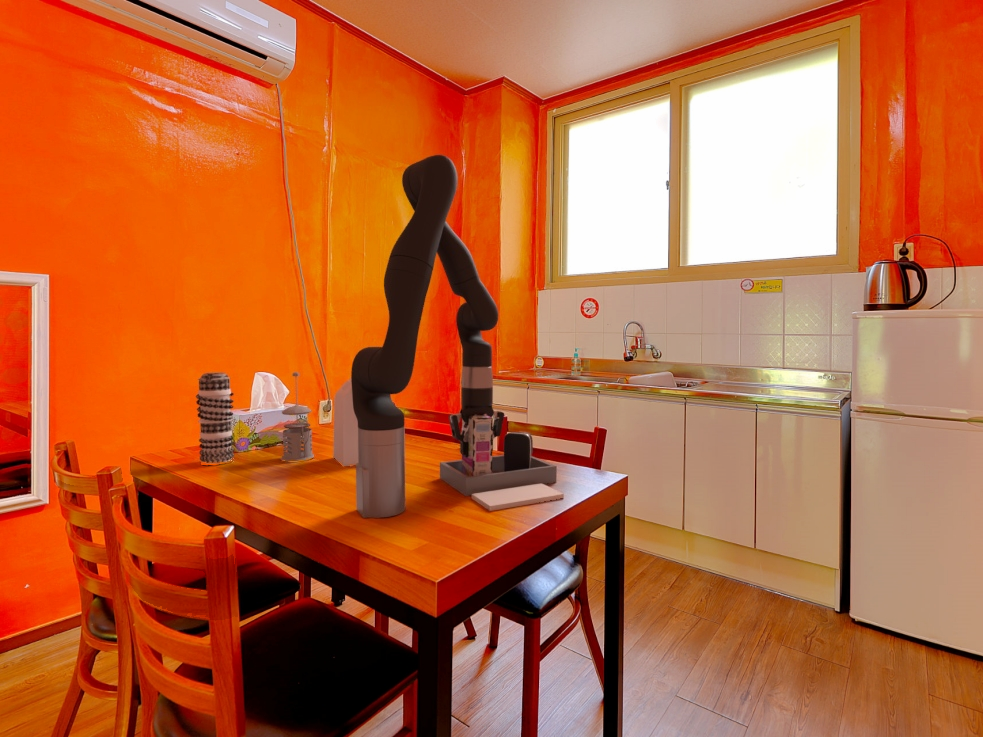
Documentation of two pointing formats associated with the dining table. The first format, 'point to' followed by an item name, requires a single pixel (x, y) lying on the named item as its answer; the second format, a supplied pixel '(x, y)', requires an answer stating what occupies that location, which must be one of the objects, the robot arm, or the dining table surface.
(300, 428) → the french press
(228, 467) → the dining table surface
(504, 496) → the board
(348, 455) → the milk
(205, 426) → the decorative candle
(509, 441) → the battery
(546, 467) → the bin
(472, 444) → the candy bar box
